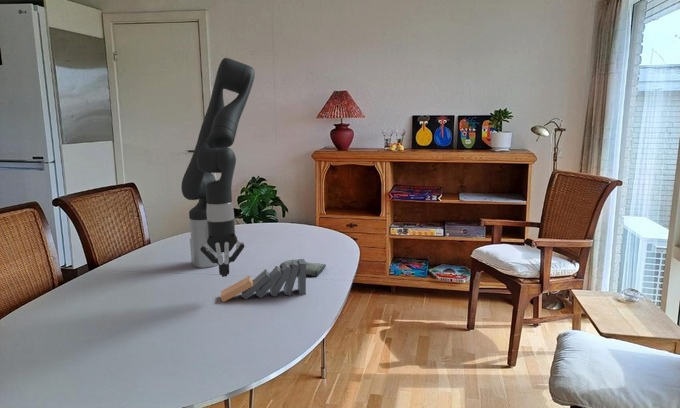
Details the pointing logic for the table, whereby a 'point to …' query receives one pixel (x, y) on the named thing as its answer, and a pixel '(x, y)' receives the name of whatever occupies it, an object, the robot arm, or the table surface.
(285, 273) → the domino
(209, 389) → the table surface
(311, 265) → the stone
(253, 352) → the table surface
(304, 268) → the domino
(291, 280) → the domino
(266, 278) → the domino
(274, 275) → the domino
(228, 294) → the domino
